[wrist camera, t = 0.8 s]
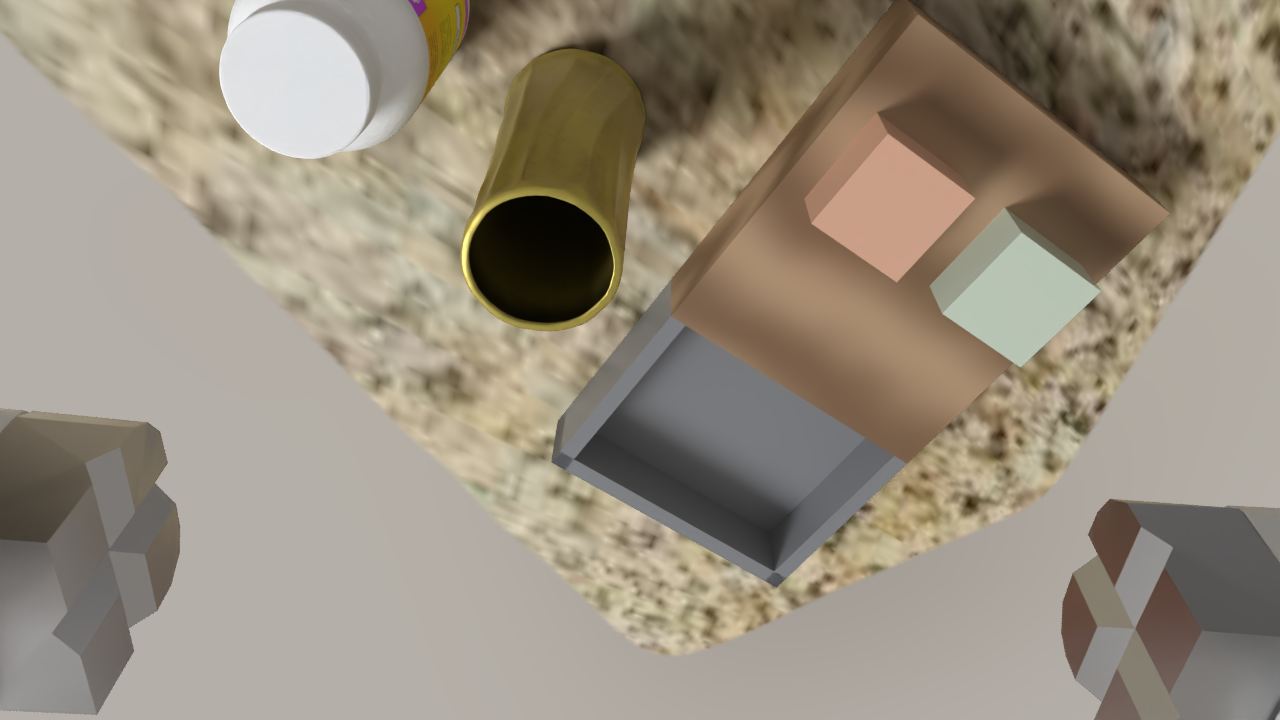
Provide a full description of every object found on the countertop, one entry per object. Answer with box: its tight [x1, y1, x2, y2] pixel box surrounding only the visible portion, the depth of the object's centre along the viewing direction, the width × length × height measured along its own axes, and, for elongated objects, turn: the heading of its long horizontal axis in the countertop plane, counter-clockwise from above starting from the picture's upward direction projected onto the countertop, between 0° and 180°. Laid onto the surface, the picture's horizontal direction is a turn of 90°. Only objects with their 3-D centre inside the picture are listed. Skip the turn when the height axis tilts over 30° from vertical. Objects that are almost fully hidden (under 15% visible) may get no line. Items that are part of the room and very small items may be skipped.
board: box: [671, 0, 1170, 463], centre depth 46 cm, size 16×14×4 cm
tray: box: [551, 281, 907, 587], centre depth 52 cm, size 10×14×4 cm
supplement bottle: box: [219, 0, 470, 159], centre depth 37 cm, size 7×7×13 cm
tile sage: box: [930, 207, 1101, 367], centre depth 44 cm, size 4×4×2 cm
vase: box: [460, 49, 646, 331], centre depth 39 cm, size 6×6×14 cm
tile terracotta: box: [804, 113, 975, 282], centre depth 42 cm, size 4×4×2 cm
